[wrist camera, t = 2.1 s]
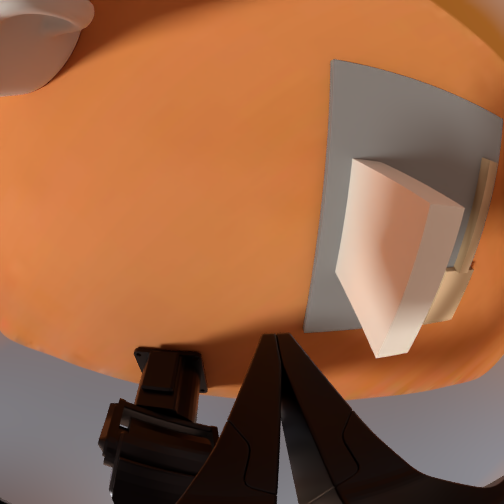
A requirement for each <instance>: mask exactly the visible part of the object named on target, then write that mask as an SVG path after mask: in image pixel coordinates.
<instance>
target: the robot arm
mask: <svg viewBox="0 0 504 504" xmlns="http://www.w3.org/2000/svg"><path fill="white" fill-rule="evenodd" d="M134 356H135V358H136V360H137V363H138V365H139V367H140V369H141V372H142V376H141V380H140V383H139V387H138V391H137V395H136V399H135V402H134V404H132V403H129V402H126V400H124V399H121V398H120V400H119V403H111V404H110V407H109V410H108V413H107V417H106V420H105V423H104V426H103V429H102V432H101V435H100V438H99V442H98V445H99V447H100V448H101V450H102V452H103V454H102V455H103V456H104V457H105V458H104V465H107V466H109V467H112V471H111V476H110V485H109V492H110V494H111V496H112V500H113V502H114V504H277V496H276V495H277V489H278V471H279V452H280V451H279V450H280V425H281V421H282V426H283V431H284V436H285V441H286V446H287V450H288V455H289V460H290V464H291V469H292V474H293V479H294V484H295V488H296V494H297V498H298V503H299V504H504V476H502V477H501V478H499V479H497V480H496V481H494V482H492V483H490V484H488V485H487V486H485V487H475V486H469V485H464V484H460V483H455V482H451V481H446V480H442V479H438V478H435V477H431V476H428V475H425V474H423V473H421V472H419V471H417V470H416V469H414V468H413V467H412V466H410V465H409V464H408V463H407V462H406V461H404V460H403V459H402V458H401V457H400V456H399V455H397V454H396V453H395V452H394V451H393V450H392V449H391V448H389V447H388V446H387V445H386V444H385V443H384V442H383V441H381V440H380V439H379V438H378V437H377V436H376V435H375V434H374V433H373V432H372V431H371V430H370V429H369V428H368V427H367V426H366V424H365V423H364V422H363V421H362V420H361V419H360V418H359V416H358V415H357V414H356V413H355V412H354V411H352V408H351V407H350V406H349V405H348V403H347V402H346V401H345V400H344V399H343V397H342V396H341V395H340V394H339V393H338V391H337V390H336V389H335V388H334V387H333V385H332V384H331V383H330V382H329V381H328V379H327V378H326V377H325V376H324V375H323V373H322V372H321V371H320V370H319V368H318V367H317V366H316V365H315V364H314V362H313V361H312V360H311V359H310V357H309V356H308V355H307V354H306V352H305V351H304V350H303V349H302V348H301V346H300V345H299V344H298V343H297V341H296V340H295V339H294V338H293V336H292V335H291V334H290V333H277V334H275V333H264V334H262V336H261V338H260V341H259V343H258V346H257V349H256V351H255V354H254V356H253V359H252V361H251V364H250V366H249V369H248V371H247V374H246V376H245V379H244V381H243V384H242V386H241V388H240V391H239V393H238V396H237V398H236V401H235V403H234V406H233V408H232V410H231V412H230V415H229V417H228V419H227V420H228V421H227V422H226V424H225V426H224V428H223V431H222V433H221V435H220V437H219V435H218V428H217V427H215V426H207V425H202V424H198V423H196V421H197V410H198V399H199V393H206V392H207V390H208V387H207V382H206V376H205V371H204V366H203V360H202V355H201V354H200V353H198V352H183V351H166V350H153V349H141V348H136V349H135V351H134ZM120 424H121V425H124V426H127V427H128V428H124V427H122V426H120ZM0 504H11V503H10V502H8V501H6V500H4V499H2V498H0Z"/></svg>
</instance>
